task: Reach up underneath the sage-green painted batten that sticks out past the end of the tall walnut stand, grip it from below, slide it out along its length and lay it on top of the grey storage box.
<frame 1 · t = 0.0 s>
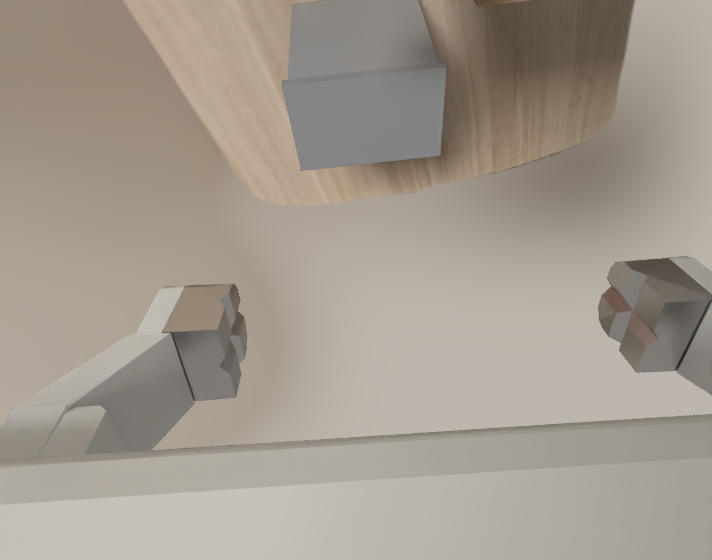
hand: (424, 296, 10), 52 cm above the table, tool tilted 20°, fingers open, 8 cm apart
storage box: (356, 37, 56), on the table
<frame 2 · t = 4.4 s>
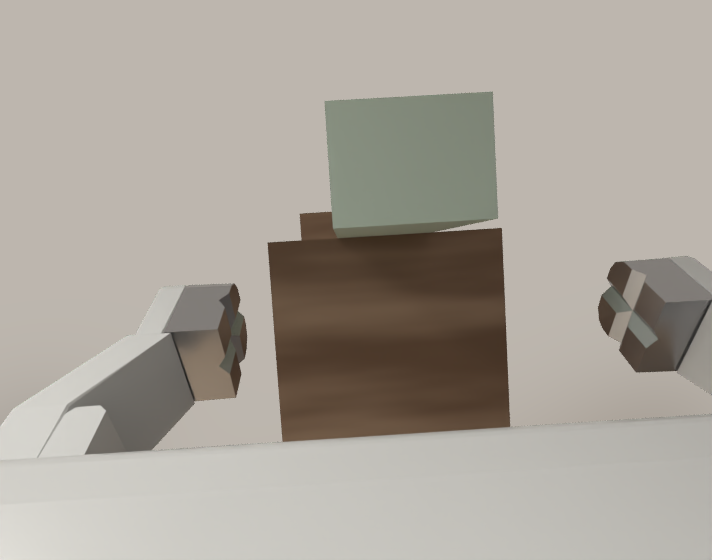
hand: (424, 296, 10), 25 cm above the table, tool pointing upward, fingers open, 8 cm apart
batten: (381, 236, 21), point 27 cm above the table, touching stand
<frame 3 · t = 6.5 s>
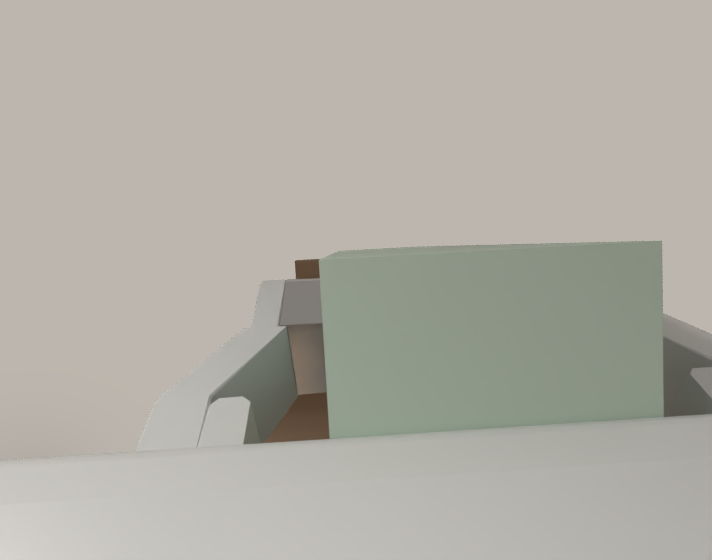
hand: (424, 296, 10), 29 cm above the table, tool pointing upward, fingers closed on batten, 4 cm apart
batten: (400, 338, 15), point 27 cm above the table, touching gripper, stand
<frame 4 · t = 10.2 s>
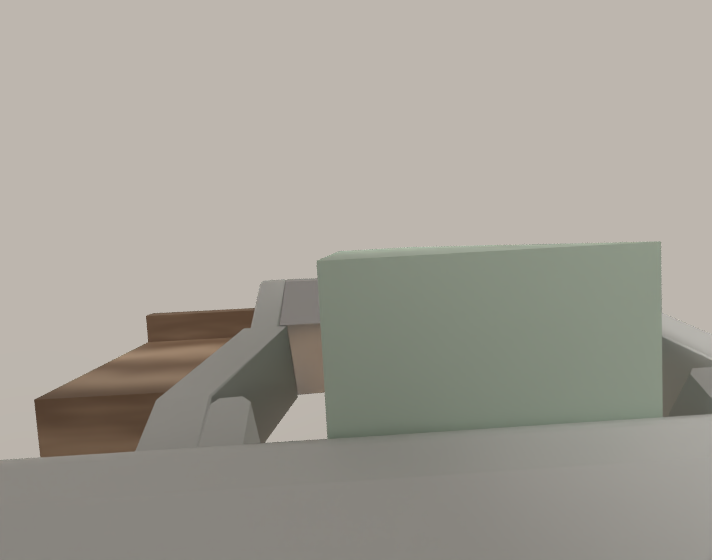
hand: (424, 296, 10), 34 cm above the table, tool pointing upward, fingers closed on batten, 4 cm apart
batten: (399, 338, 15), point 32 cm above the table, touching gripper
when the fingers open (21 cm above the table, at t = 13.9 s): batten drops 1 cm, resting on storage box.
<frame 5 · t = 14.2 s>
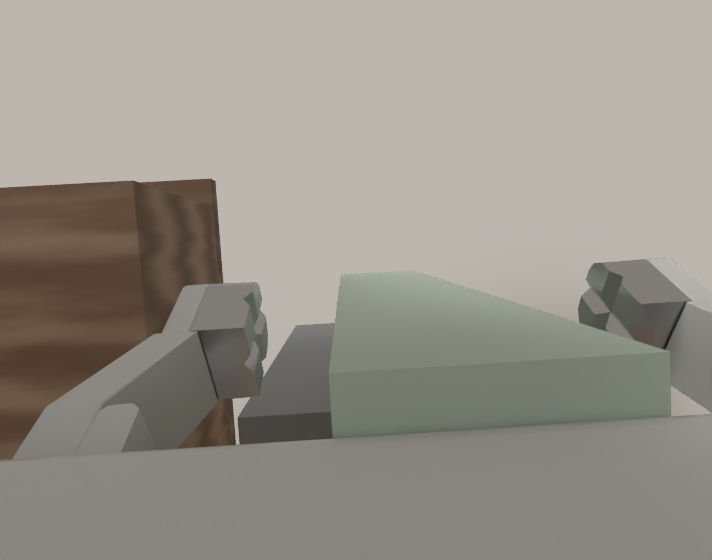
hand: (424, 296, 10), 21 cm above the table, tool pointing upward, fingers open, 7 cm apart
stand: (147, 546, 36), on the table
batten: (403, 376, 16), point 18 cm above the table, touching storage box
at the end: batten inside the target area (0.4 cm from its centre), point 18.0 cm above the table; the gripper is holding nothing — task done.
